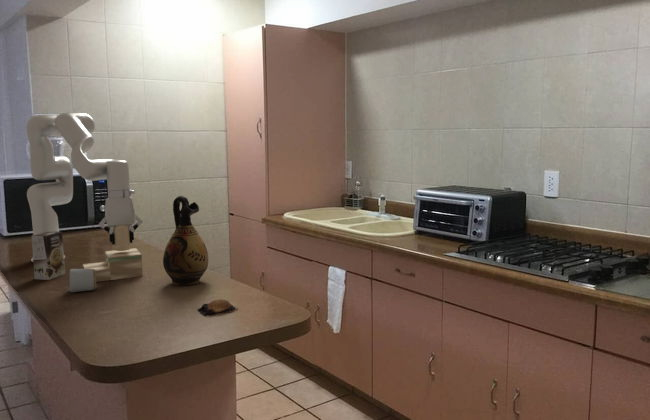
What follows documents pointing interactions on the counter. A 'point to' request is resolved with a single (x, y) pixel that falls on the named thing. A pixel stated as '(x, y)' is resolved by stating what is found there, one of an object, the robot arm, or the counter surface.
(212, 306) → the turtle figurine
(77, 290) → the ceramic mug
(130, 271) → the step stand
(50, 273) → the coffee box
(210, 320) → the counter surface
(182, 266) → the painted pottery vase
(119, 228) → the candle
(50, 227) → the robot arm
